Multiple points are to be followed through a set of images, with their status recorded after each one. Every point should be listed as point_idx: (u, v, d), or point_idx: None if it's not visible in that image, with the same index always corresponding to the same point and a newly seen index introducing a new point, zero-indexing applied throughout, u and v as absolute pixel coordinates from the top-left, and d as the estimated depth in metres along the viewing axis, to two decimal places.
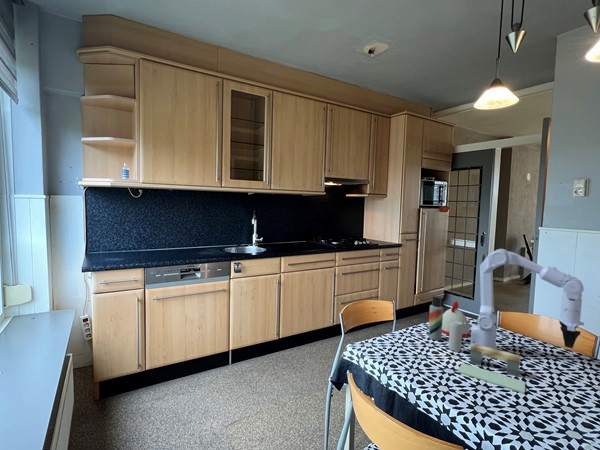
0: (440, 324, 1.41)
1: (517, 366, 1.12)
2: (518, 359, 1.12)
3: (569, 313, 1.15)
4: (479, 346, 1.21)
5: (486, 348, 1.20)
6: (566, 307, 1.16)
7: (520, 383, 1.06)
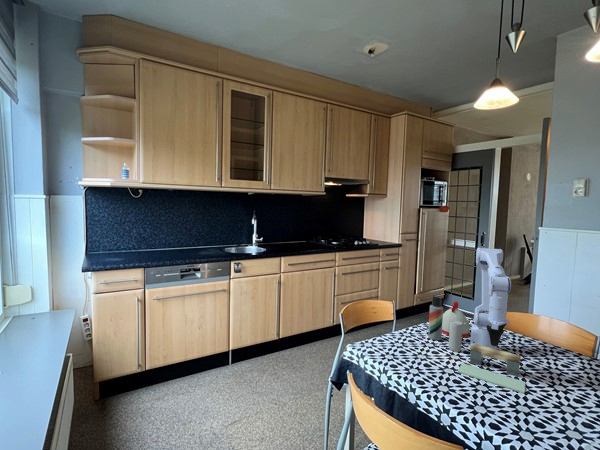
0: (440, 324, 1.41)
1: (517, 366, 1.12)
2: (518, 359, 1.12)
3: (495, 311, 1.15)
4: (479, 346, 1.21)
5: (486, 348, 1.20)
6: None
7: (520, 383, 1.06)
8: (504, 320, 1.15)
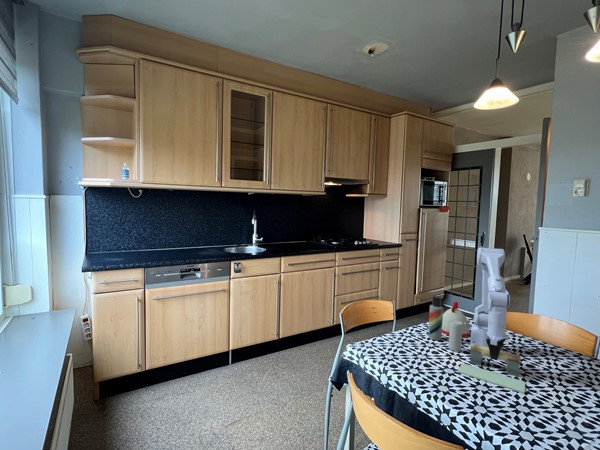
0: (440, 324, 1.41)
1: (517, 366, 1.12)
2: (518, 359, 1.12)
3: (494, 327, 1.16)
4: (479, 346, 1.21)
5: (486, 348, 1.20)
6: None
7: (520, 383, 1.06)
8: (503, 335, 1.15)
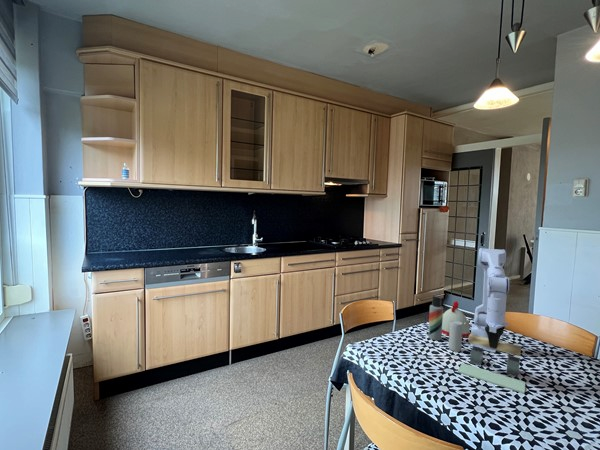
0: (440, 324, 1.41)
1: (517, 366, 1.12)
2: (518, 349, 1.07)
3: (493, 314, 1.10)
4: (477, 337, 1.16)
5: (485, 339, 1.14)
6: None
7: (520, 383, 1.06)
8: (503, 323, 1.10)
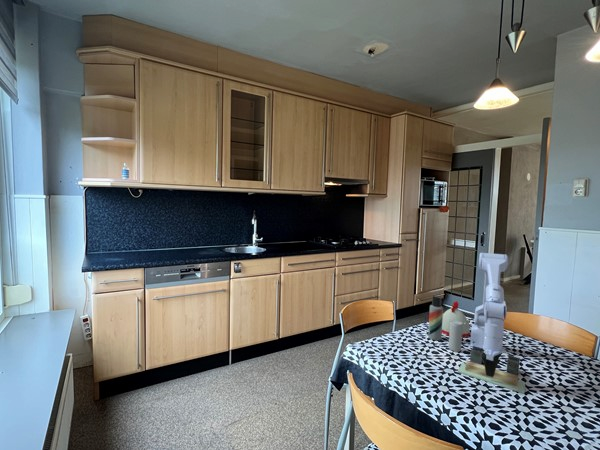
0: (440, 324, 1.41)
1: (517, 366, 1.12)
2: (516, 380, 1.05)
3: (490, 340, 1.08)
4: (474, 364, 1.14)
5: (482, 367, 1.12)
6: None
7: (520, 383, 1.06)
8: (500, 349, 1.07)
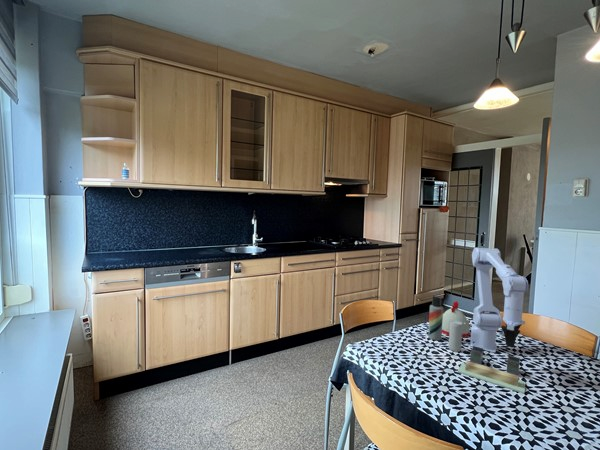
0: (440, 324, 1.41)
1: (517, 366, 1.12)
2: (516, 380, 1.05)
3: (510, 312, 1.14)
4: (474, 364, 1.14)
5: (482, 367, 1.12)
6: (504, 303, 1.17)
7: (520, 383, 1.06)
8: (520, 320, 1.13)
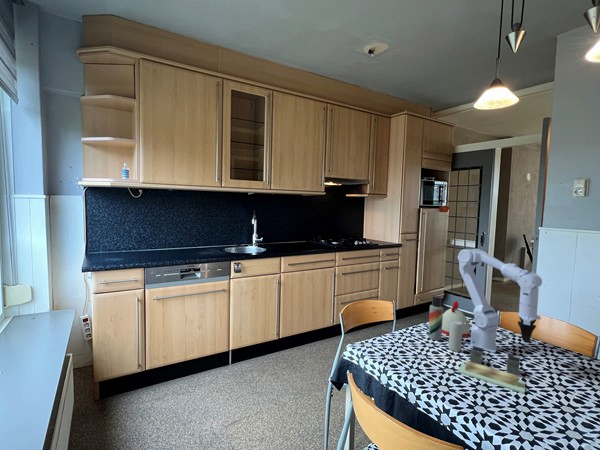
0: (440, 324, 1.41)
1: (517, 366, 1.12)
2: (516, 380, 1.05)
3: (526, 308, 1.19)
4: (474, 364, 1.14)
5: (482, 367, 1.12)
6: (521, 301, 1.21)
7: (520, 383, 1.06)
8: (535, 316, 1.19)
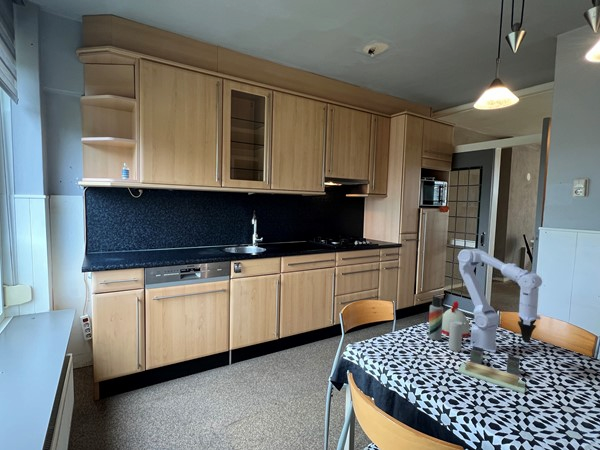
0: (440, 324, 1.41)
1: (517, 366, 1.12)
2: (516, 380, 1.05)
3: (526, 308, 1.19)
4: (474, 364, 1.14)
5: (482, 367, 1.12)
6: (521, 301, 1.21)
7: (520, 383, 1.06)
8: (535, 316, 1.19)
